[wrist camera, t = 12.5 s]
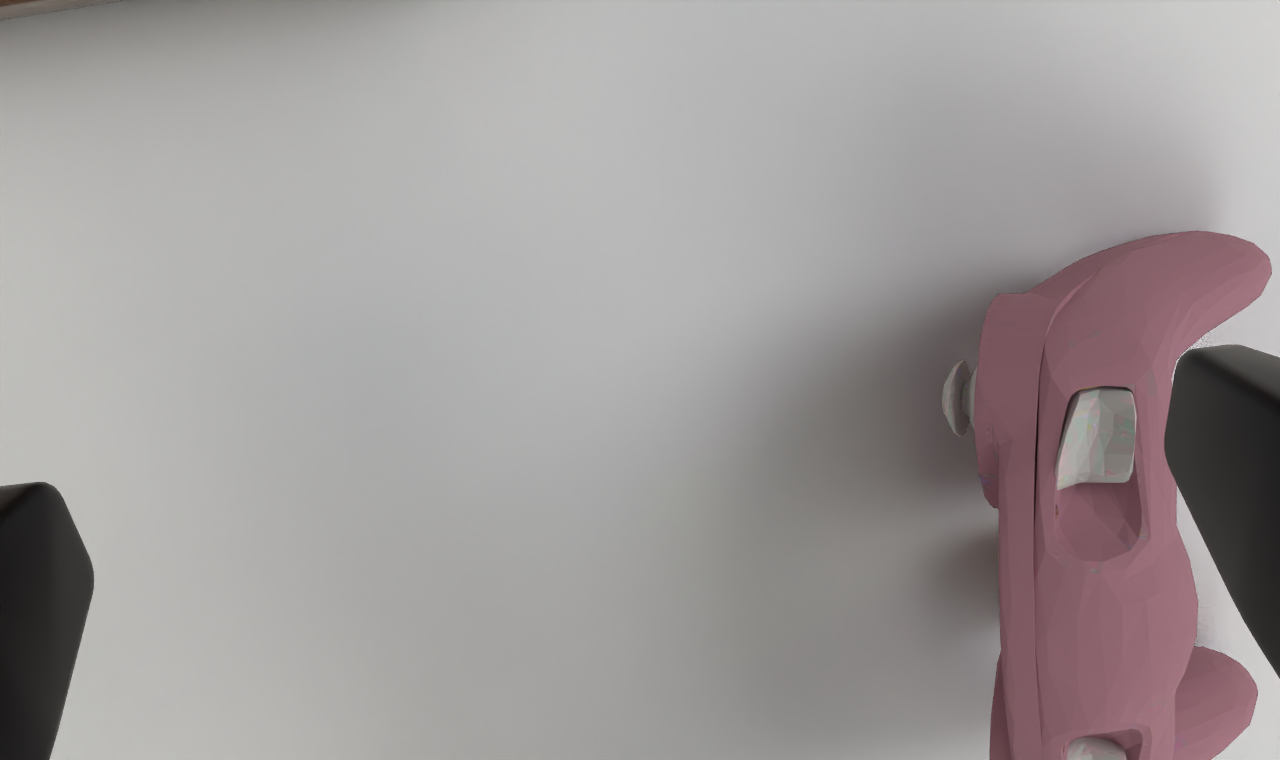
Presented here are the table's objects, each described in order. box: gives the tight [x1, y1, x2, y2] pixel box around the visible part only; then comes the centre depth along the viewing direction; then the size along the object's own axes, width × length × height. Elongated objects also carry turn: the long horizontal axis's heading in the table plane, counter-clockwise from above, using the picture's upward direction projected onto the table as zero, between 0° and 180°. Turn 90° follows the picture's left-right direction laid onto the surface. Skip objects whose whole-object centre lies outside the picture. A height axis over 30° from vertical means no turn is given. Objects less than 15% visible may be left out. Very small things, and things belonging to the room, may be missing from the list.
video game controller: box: [942, 231, 1272, 760], centre depth 19 cm, size 10×5×7 cm, turn 8°
